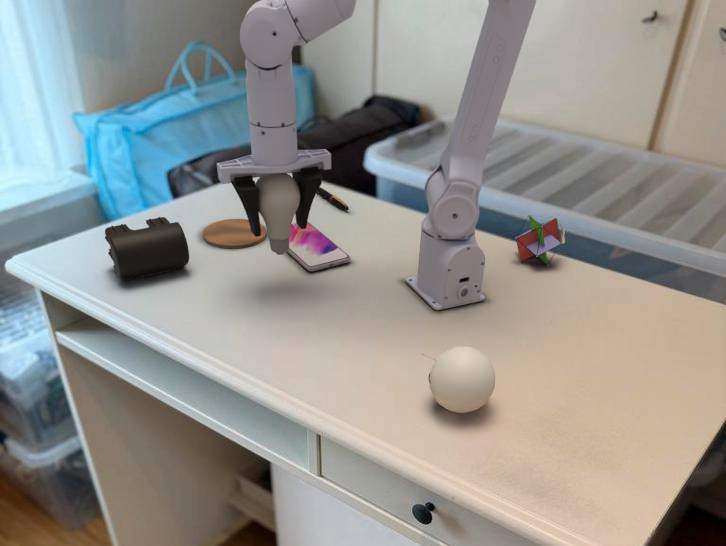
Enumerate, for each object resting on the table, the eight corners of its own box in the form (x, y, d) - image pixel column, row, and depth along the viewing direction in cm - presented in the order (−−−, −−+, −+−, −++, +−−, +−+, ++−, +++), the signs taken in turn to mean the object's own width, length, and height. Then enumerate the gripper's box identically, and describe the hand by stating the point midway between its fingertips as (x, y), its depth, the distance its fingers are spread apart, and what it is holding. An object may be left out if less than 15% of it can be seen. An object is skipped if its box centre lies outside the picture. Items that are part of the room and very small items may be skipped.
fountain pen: (303, 185, 130) (303, 177, 129) (309, 184, 130) (309, 176, 129) (345, 213, 121) (345, 205, 120) (351, 212, 122) (351, 203, 121)
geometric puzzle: (516, 260, 105) (554, 214, 102) (495, 241, 110) (531, 196, 106) (545, 283, 109) (582, 239, 106) (523, 263, 114) (559, 220, 111)
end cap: (124, 290, 100) (114, 244, 95) (109, 269, 104) (99, 224, 100) (192, 275, 104) (186, 229, 99) (176, 255, 108) (169, 211, 103)
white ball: (504, 413, 81) (515, 358, 76) (451, 434, 78) (459, 378, 73) (451, 370, 87) (458, 316, 82) (401, 387, 84) (405, 332, 79)
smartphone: (309, 268, 104) (266, 229, 114) (309, 273, 105) (266, 234, 114) (352, 257, 107) (307, 220, 116) (352, 262, 107) (307, 225, 117)
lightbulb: (285, 240, 102) (281, 159, 94) (311, 255, 98) (309, 173, 91) (249, 252, 99) (241, 169, 91) (274, 268, 95) (268, 184, 88)
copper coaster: (275, 242, 112) (275, 239, 112) (212, 252, 109) (212, 249, 109) (255, 218, 119) (254, 215, 119) (195, 227, 116) (195, 224, 115)
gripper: (316, 105, 92) (318, 210, 101) (205, 117, 87) (218, 226, 97) (337, 121, 87) (337, 230, 96) (221, 135, 83) (233, 247, 92)
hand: (279, 229), depth 96 cm, fingers closed on lightbulb, 6 cm apart
